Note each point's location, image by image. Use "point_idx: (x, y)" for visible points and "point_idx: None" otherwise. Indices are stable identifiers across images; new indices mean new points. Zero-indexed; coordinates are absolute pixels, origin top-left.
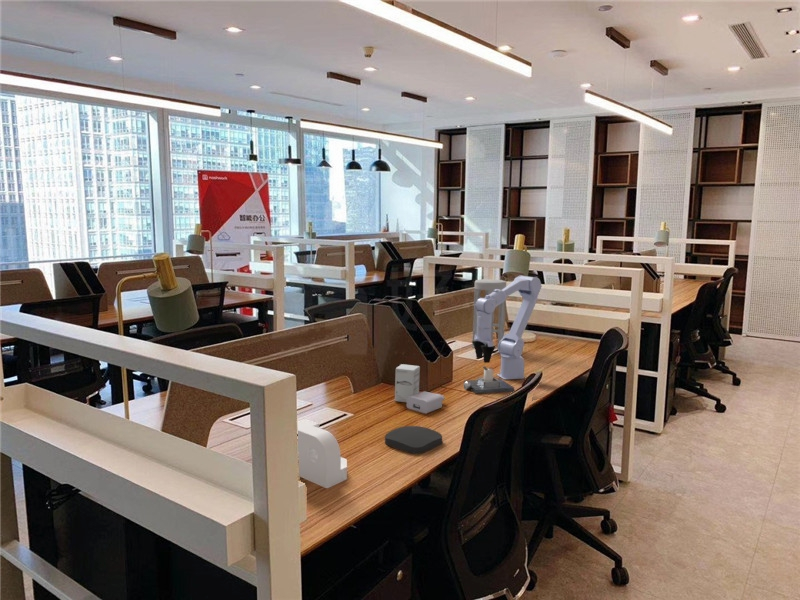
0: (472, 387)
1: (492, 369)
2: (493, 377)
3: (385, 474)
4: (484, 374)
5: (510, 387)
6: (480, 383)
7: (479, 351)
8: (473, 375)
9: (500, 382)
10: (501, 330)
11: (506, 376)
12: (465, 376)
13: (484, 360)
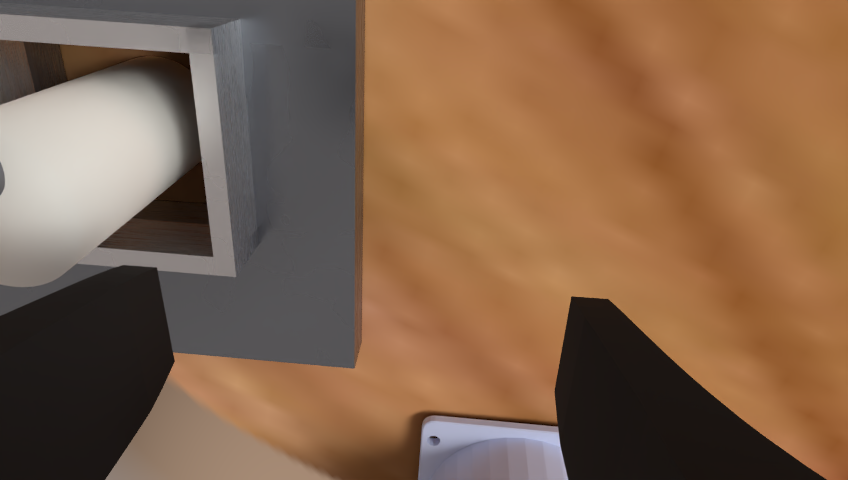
0: None
1: (4, 277)
2: (192, 260)
3: None
4: (23, 101)
5: (1, 307)
6: (113, 12)
7: (603, 471)
8: (741, 194)
9: (202, 302)
10: None
11: (452, 463)
12: (754, 63)
13: (79, 282)
